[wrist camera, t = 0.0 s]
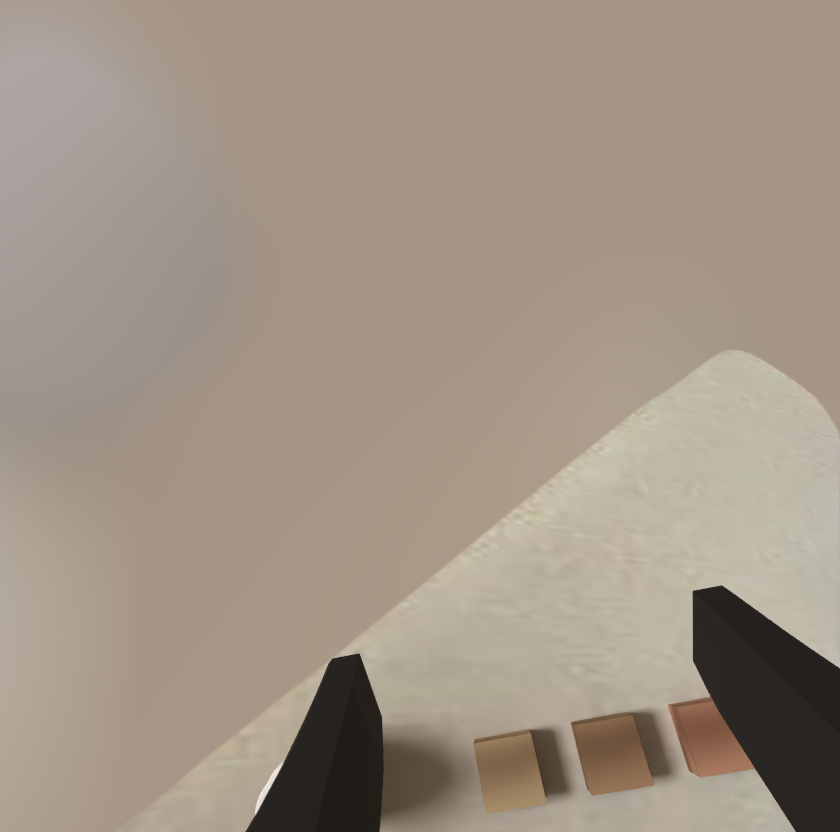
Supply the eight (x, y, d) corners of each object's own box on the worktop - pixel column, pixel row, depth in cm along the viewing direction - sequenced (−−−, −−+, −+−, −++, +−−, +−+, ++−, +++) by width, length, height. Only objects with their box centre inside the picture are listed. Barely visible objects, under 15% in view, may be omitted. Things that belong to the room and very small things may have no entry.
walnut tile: (644, 777, 37) (653, 785, 34) (586, 787, 37) (592, 795, 34) (625, 712, 38) (632, 715, 36) (570, 721, 39) (574, 725, 36)
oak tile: (543, 794, 37) (546, 803, 35) (487, 804, 37) (486, 813, 35) (528, 729, 39) (531, 733, 36) (474, 739, 39) (473, 743, 37)
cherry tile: (747, 760, 36) (763, 766, 34) (687, 770, 36) (700, 777, 34) (722, 694, 38) (737, 696, 36) (666, 704, 38) (677, 707, 36)
